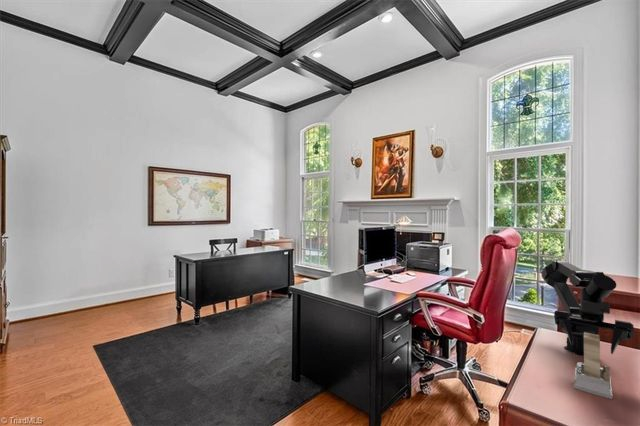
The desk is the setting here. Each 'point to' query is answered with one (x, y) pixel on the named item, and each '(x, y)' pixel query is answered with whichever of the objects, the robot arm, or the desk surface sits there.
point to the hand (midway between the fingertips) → (591, 348)
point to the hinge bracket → (593, 381)
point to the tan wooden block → (592, 354)
